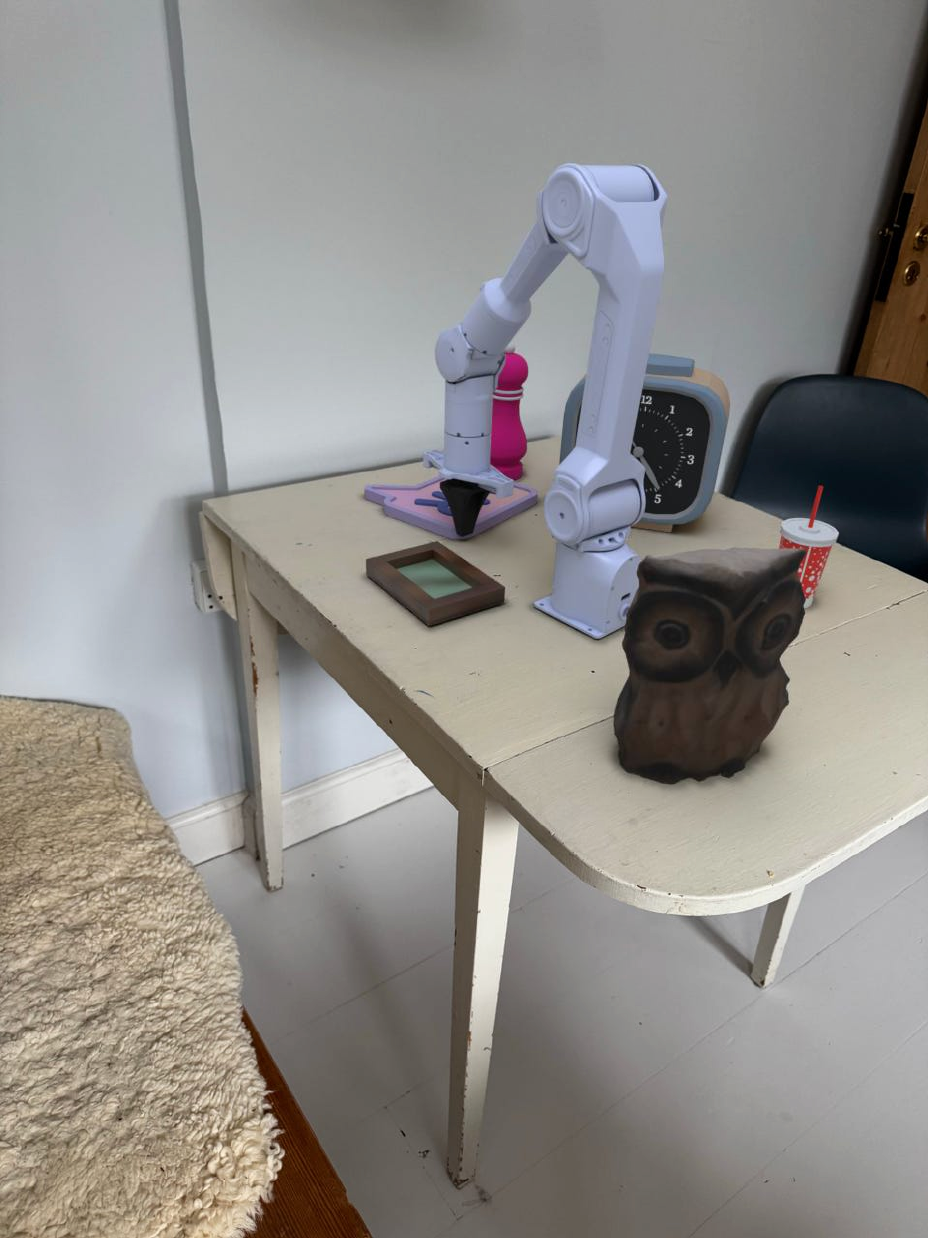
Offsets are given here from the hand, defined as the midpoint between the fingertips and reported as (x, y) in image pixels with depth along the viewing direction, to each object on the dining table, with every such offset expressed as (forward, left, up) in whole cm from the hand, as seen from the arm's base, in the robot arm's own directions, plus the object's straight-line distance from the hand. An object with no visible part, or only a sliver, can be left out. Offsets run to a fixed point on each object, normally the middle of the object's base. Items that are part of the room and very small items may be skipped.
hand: (464, 533), depth 108 cm
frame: (-8, +12, -1) cm, 14 cm away
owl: (-43, +13, -1) cm, 45 cm away
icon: (+11, -7, -1) cm, 13 cm away
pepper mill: (+14, -21, -1) cm, 25 cm away
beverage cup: (-36, -19, -1) cm, 41 cm away
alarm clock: (-9, -24, -1) cm, 26 cm away
